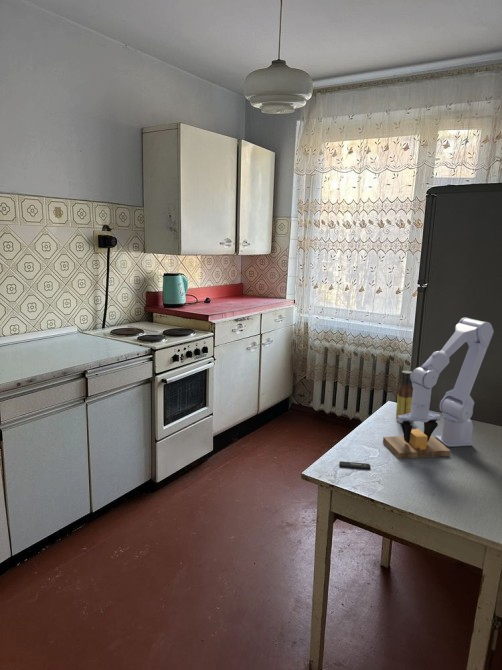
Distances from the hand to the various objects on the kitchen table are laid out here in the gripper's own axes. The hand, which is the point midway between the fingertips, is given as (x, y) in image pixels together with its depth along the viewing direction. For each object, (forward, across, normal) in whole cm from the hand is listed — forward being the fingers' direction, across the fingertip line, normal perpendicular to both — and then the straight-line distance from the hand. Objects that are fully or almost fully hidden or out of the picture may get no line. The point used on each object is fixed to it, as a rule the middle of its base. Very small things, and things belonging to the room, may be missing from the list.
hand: (416, 441), depth 156 cm
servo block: (+3, 0, 0) cm, 3 cm away
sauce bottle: (+3, +8, +24) cm, 25 cm away
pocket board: (+3, 0, 0) cm, 3 cm away
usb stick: (+3, -26, -10) cm, 27 cm away
